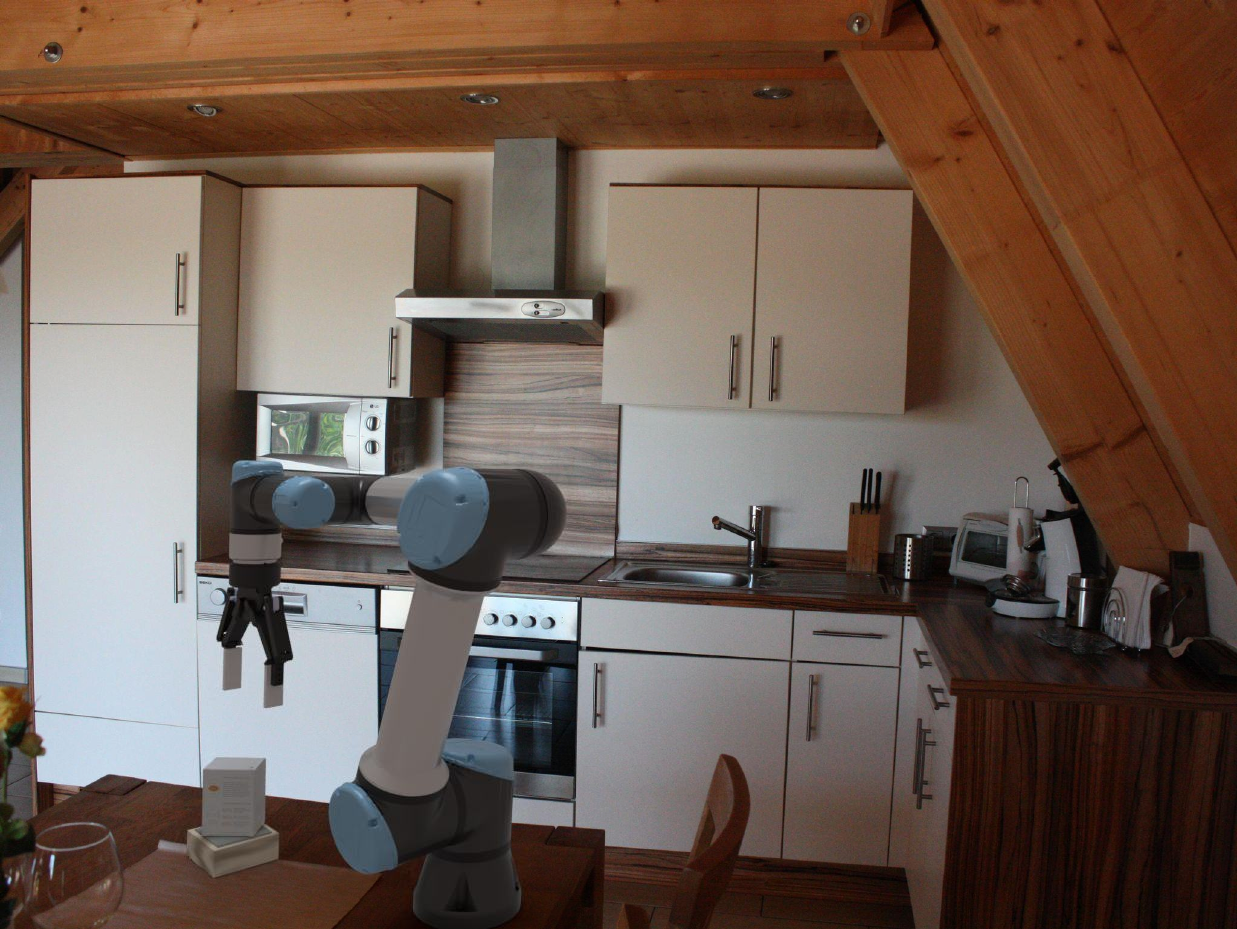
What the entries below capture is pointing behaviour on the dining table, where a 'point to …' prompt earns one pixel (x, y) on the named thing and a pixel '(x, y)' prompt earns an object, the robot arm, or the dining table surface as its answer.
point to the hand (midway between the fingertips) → (251, 697)
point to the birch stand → (232, 850)
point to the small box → (233, 796)
